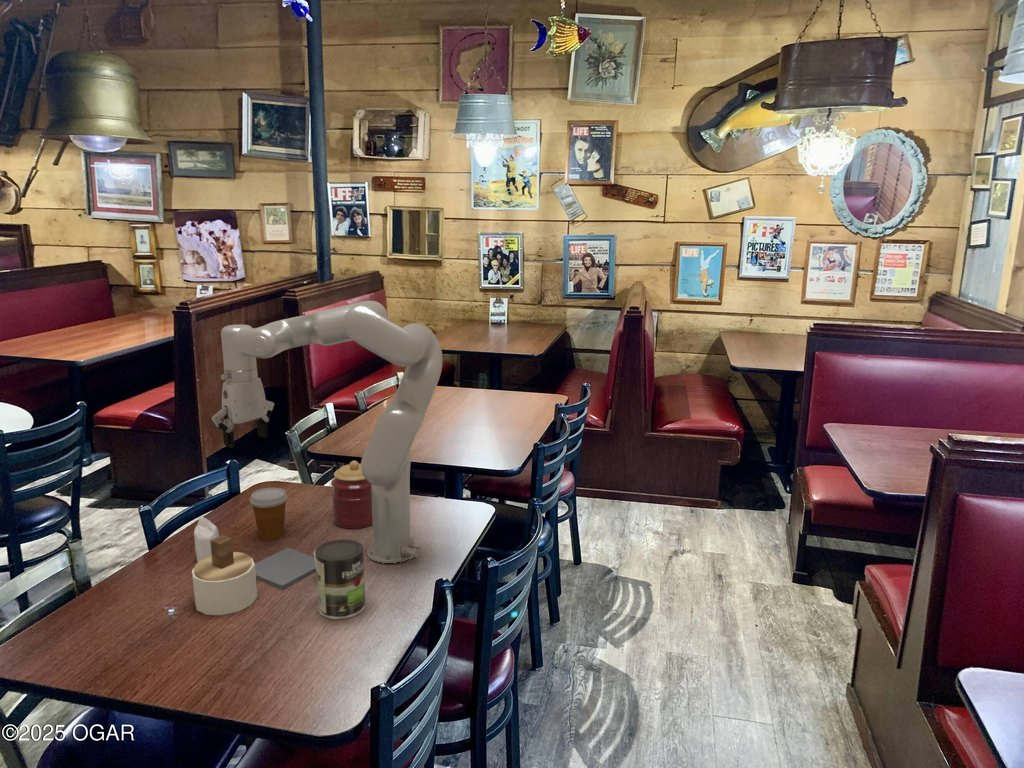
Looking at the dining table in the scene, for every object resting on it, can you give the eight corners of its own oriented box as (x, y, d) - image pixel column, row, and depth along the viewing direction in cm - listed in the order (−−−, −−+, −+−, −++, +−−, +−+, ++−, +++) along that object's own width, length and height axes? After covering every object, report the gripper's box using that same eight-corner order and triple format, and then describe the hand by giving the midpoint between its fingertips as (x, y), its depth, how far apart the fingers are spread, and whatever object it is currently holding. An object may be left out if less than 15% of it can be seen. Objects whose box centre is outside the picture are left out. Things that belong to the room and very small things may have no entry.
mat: (327, 565, 183) (326, 561, 183) (282, 589, 171) (282, 585, 171) (288, 551, 190) (287, 547, 190) (242, 573, 179) (242, 569, 178)
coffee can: (375, 603, 166) (373, 546, 163) (342, 625, 157) (339, 564, 154) (341, 590, 171) (339, 534, 168) (308, 610, 163) (304, 552, 159)
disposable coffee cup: (244, 539, 197) (241, 497, 194) (269, 525, 205) (266, 484, 202) (273, 545, 193) (270, 503, 190) (297, 531, 202) (294, 490, 199)
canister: (357, 506, 218) (355, 450, 214) (389, 518, 211) (387, 459, 207) (323, 521, 208) (320, 462, 204) (355, 533, 201) (352, 472, 196)
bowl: (268, 595, 169) (266, 563, 167) (220, 621, 158) (217, 587, 156) (231, 580, 175) (229, 549, 173) (183, 604, 165) (179, 571, 163)
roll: (222, 512, 184) (207, 521, 179) (225, 556, 187) (211, 566, 182) (201, 509, 186) (186, 518, 181) (205, 552, 189) (190, 562, 183)
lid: (263, 563, 167) (261, 536, 165) (217, 586, 157) (215, 557, 155) (228, 550, 173) (226, 523, 171) (182, 571, 163) (179, 542, 161)
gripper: (219, 384, 172) (225, 453, 176) (279, 371, 186) (284, 435, 190) (200, 379, 176) (206, 447, 181) (260, 367, 190) (265, 430, 194)
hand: (246, 441), depth 185 cm, fingers open, 9 cm apart
